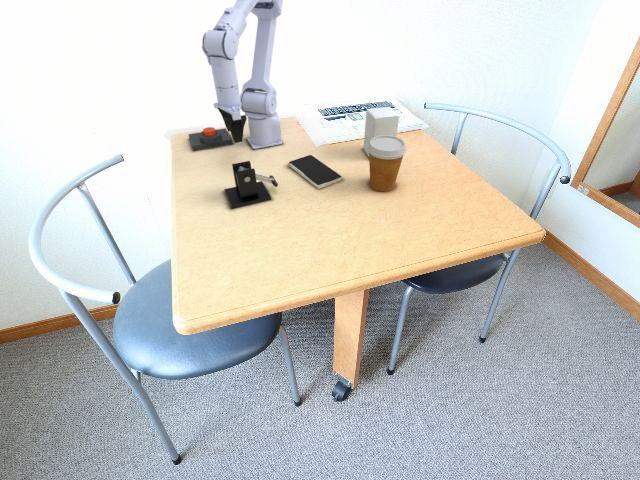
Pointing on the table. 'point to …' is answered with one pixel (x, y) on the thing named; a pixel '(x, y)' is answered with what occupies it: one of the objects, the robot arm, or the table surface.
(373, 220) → the table surface
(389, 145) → the disposable coffee cup
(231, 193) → the bracket
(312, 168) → the smartphone
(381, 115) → the white packaging box
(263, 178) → the lever
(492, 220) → the table surface
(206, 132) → the button
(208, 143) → the button box
